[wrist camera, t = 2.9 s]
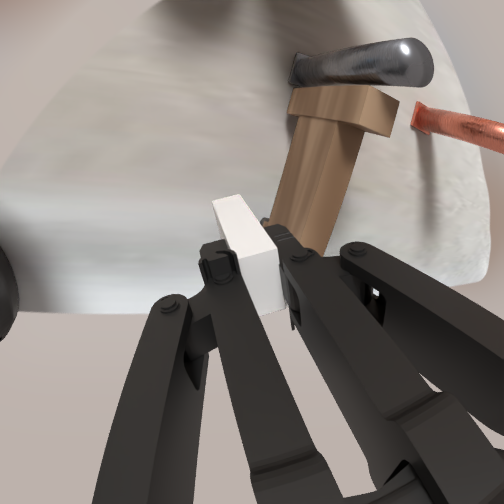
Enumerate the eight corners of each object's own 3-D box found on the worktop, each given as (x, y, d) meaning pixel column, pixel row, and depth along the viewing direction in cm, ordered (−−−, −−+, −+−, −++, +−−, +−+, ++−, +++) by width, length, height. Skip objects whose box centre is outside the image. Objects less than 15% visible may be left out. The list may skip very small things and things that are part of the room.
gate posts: (288, 82, 22) (390, 73, 11) (299, 43, 20) (404, 10, 9) (424, 142, 27) (522, 178, 16) (432, 111, 26) (532, 137, 15)
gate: (250, 235, 27) (296, 310, 18) (291, 88, 22) (371, 85, 12) (273, 238, 28) (326, 311, 18) (315, 96, 23) (401, 101, 13)
